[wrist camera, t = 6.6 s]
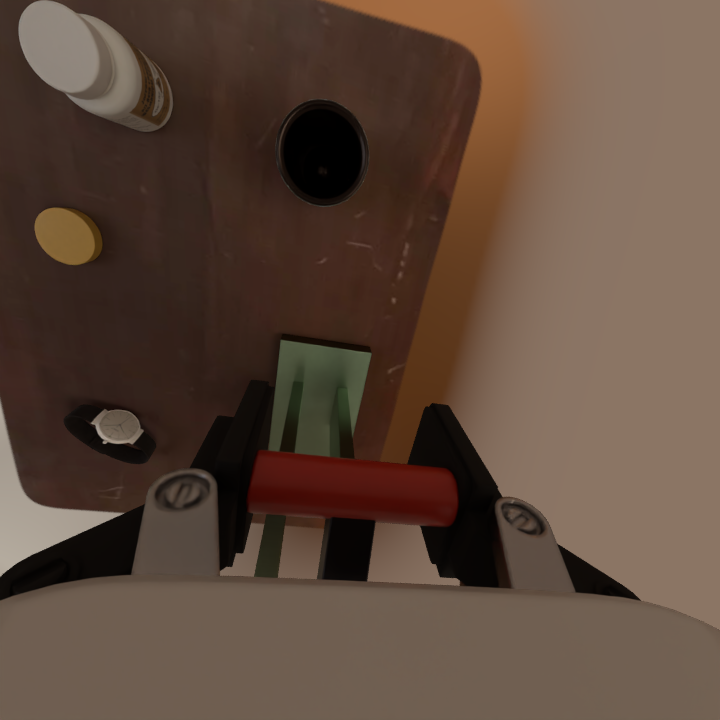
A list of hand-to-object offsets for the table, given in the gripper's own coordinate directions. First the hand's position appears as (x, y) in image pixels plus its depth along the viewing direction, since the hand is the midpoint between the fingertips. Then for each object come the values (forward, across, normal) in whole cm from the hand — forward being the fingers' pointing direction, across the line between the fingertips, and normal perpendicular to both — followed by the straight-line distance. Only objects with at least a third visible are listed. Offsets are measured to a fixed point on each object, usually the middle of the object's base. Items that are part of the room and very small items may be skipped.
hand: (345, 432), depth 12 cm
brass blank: (+20, +20, -1) cm, 29 cm away
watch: (+20, +18, +16) cm, 32 cm away
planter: (+20, +2, -9) cm, 22 cm away
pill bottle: (+20, +15, -11) cm, 27 cm away
